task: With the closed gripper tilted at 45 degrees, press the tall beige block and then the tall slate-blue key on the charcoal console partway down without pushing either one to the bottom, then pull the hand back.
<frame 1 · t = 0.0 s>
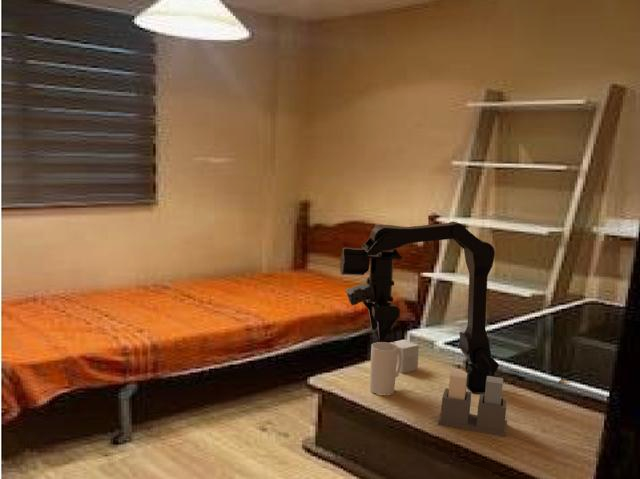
hand: (377, 335, 159), 15 cm above the table, tool pointing down, fingers open, 9 cm apart
beige block: (457, 388, 144), point 8 cm above the table, slide at 0.0 cm
slate key: (493, 394, 141), point 8 cm above the table, slide at 0.0 cm
multiport hub: (533, 376, 177), on the table
skincare box: (402, 369, 177), on the table
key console: (472, 424, 144), on the table
mug: (386, 390, 162), on the table
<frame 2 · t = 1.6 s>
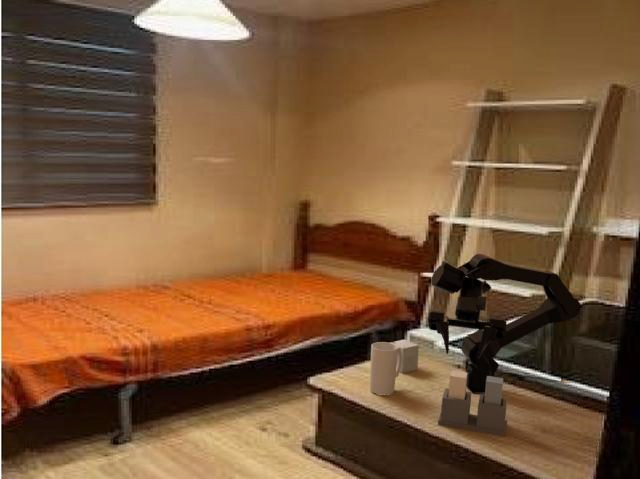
hand: (462, 355, 150), 14 cm above the table, tool tilted 45°, fingers open, 7 cm apart
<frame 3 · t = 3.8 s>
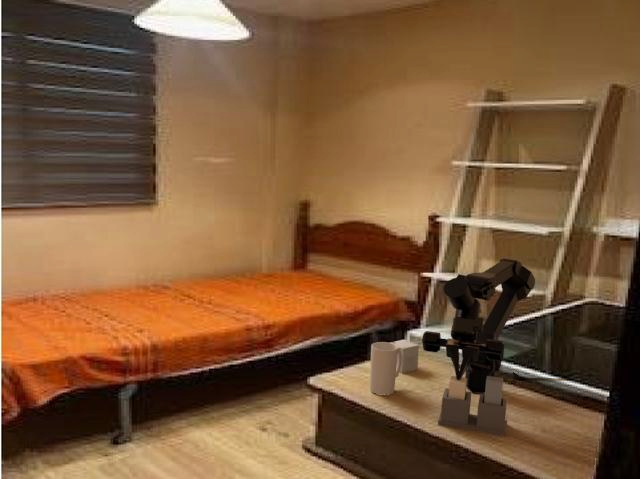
hand: (458, 379, 143), 10 cm above the table, tool tilted 45°, fingers closed, pressing on beige block
beige block: (457, 394, 144), point 7 cm above the table, slide at 1.3 cm, touching gripper
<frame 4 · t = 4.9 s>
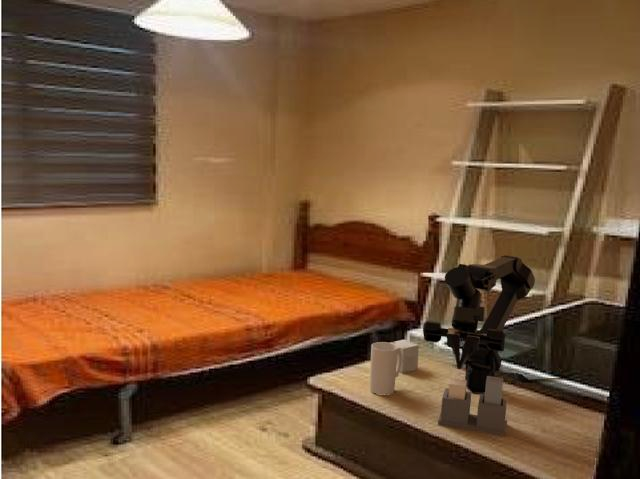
hand: (459, 368, 142), 13 cm above the table, tool tilted 45°, fingers closed
beige block: (457, 396, 144), point 6 cm above the table, slide at 1.9 cm
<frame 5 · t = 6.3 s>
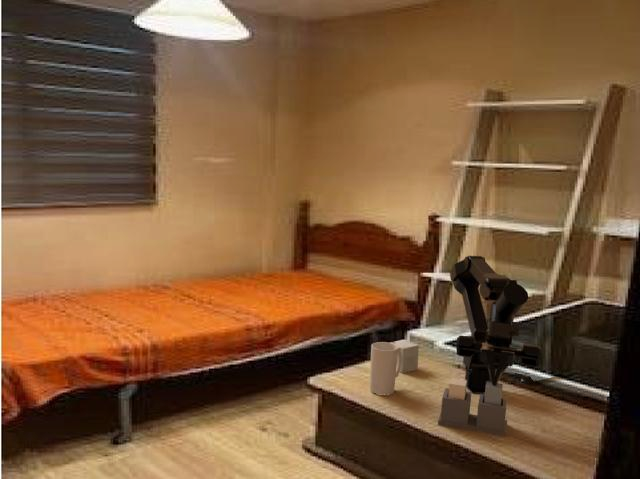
hand: (494, 384, 140), 10 cm above the table, tool tilted 45°, fingers closed, pressing on slate key
slate key: (492, 399, 141), point 7 cm above the table, slide at 1.3 cm, touching gripper
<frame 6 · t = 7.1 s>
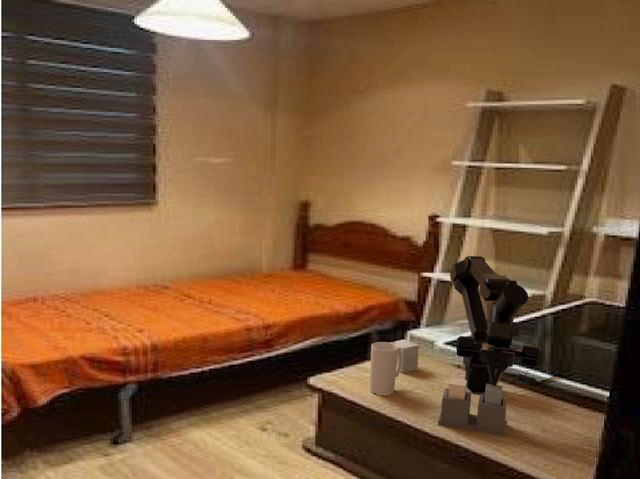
hand: (494, 385, 140), 10 cm above the table, tool tilted 45°, fingers closed
slate key: (492, 402, 141), point 6 cm above the table, slide at 1.8 cm
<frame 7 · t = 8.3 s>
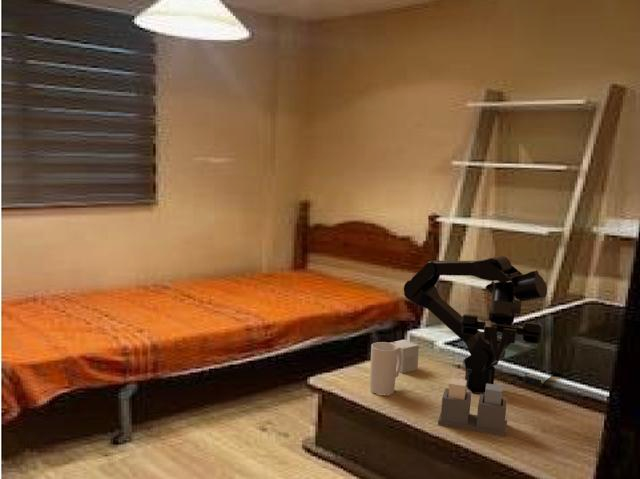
hand: (497, 360, 147), 14 cm above the table, tool tilted 45°, fingers closed
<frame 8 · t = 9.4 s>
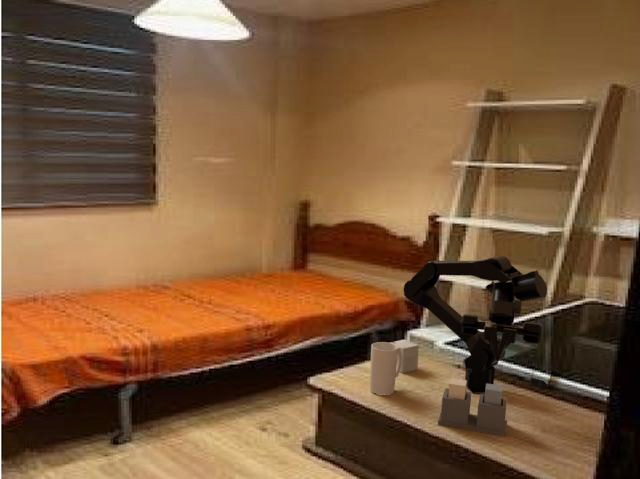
hand: (497, 360, 147), 14 cm above the table, tool tilted 45°, fingers closed
at the end: beige block slide at 1.9 cm; slate key slide at 1.8 cm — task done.
